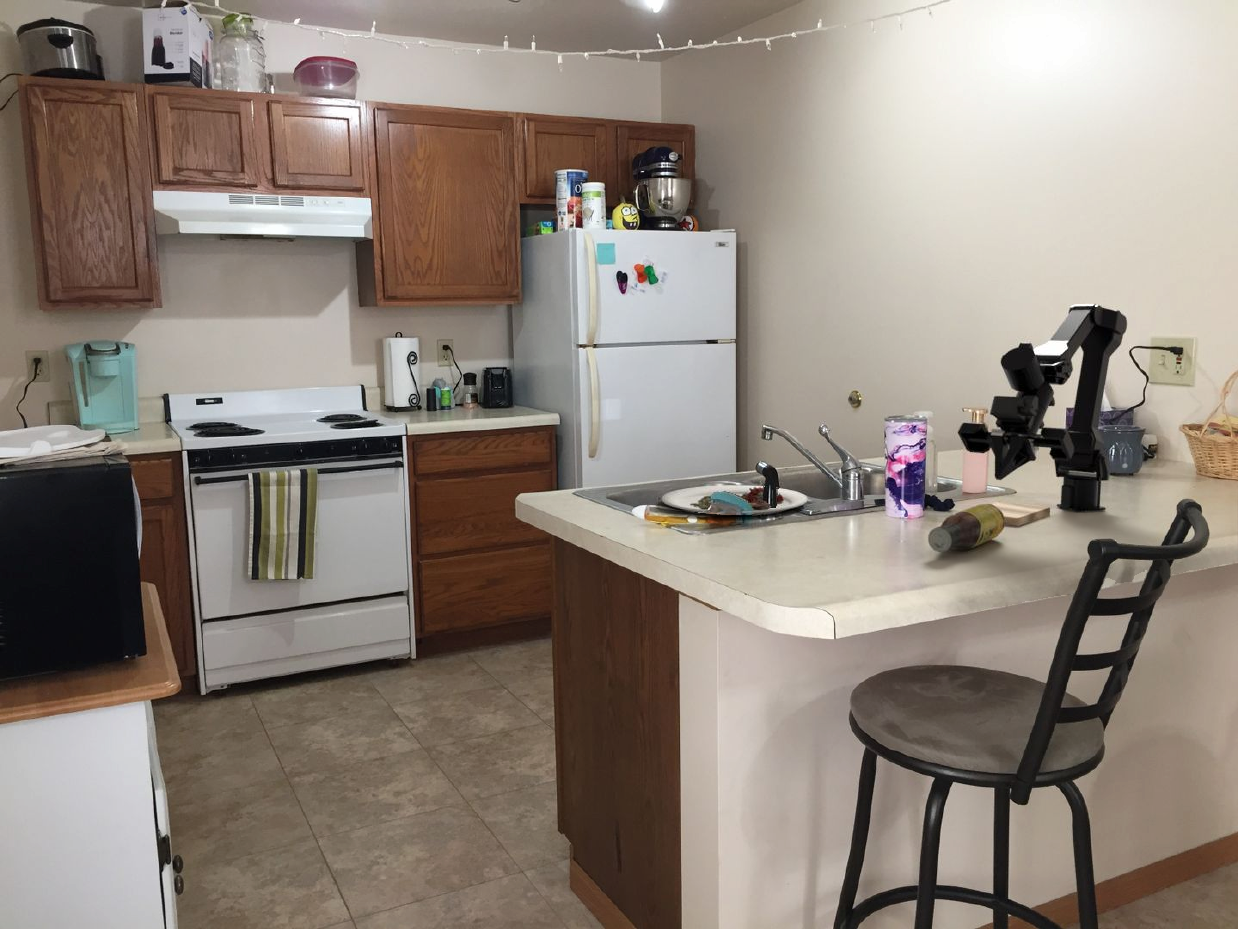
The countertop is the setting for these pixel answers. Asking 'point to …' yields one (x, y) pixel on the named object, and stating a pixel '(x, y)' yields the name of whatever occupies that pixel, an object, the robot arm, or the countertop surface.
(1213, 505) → the countertop surface
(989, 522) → the sauce bottle
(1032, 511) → the oak cutting board
